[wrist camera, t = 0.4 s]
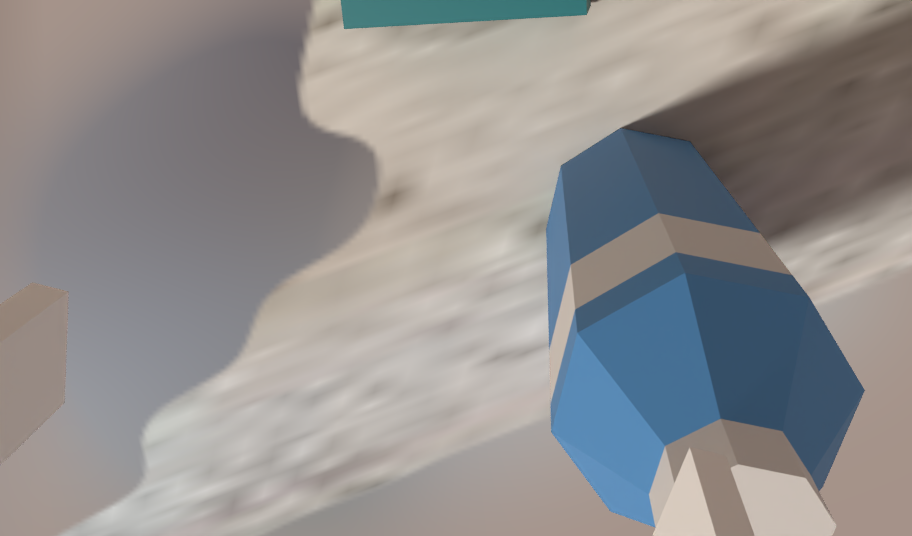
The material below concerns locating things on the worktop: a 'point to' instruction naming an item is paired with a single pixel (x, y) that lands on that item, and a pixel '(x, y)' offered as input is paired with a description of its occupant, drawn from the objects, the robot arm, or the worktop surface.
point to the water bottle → (685, 340)
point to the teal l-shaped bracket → (452, 11)
